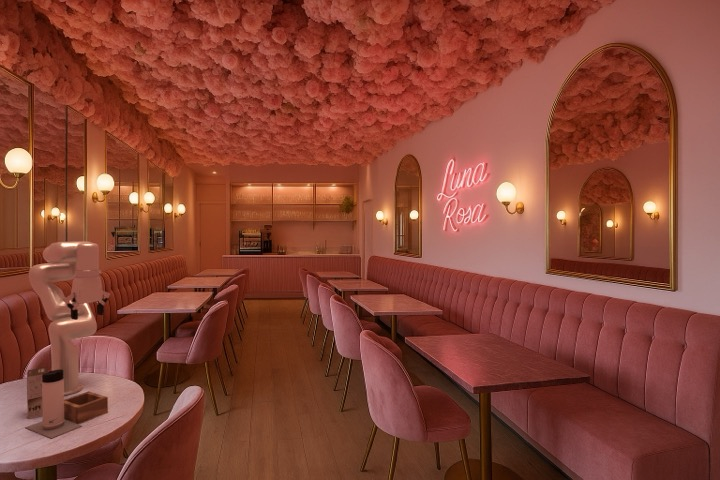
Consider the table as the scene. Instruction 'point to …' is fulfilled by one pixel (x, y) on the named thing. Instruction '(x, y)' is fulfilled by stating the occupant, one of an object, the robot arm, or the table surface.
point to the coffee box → (35, 392)
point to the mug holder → (85, 407)
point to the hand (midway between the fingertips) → (87, 317)
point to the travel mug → (53, 399)
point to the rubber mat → (53, 433)
